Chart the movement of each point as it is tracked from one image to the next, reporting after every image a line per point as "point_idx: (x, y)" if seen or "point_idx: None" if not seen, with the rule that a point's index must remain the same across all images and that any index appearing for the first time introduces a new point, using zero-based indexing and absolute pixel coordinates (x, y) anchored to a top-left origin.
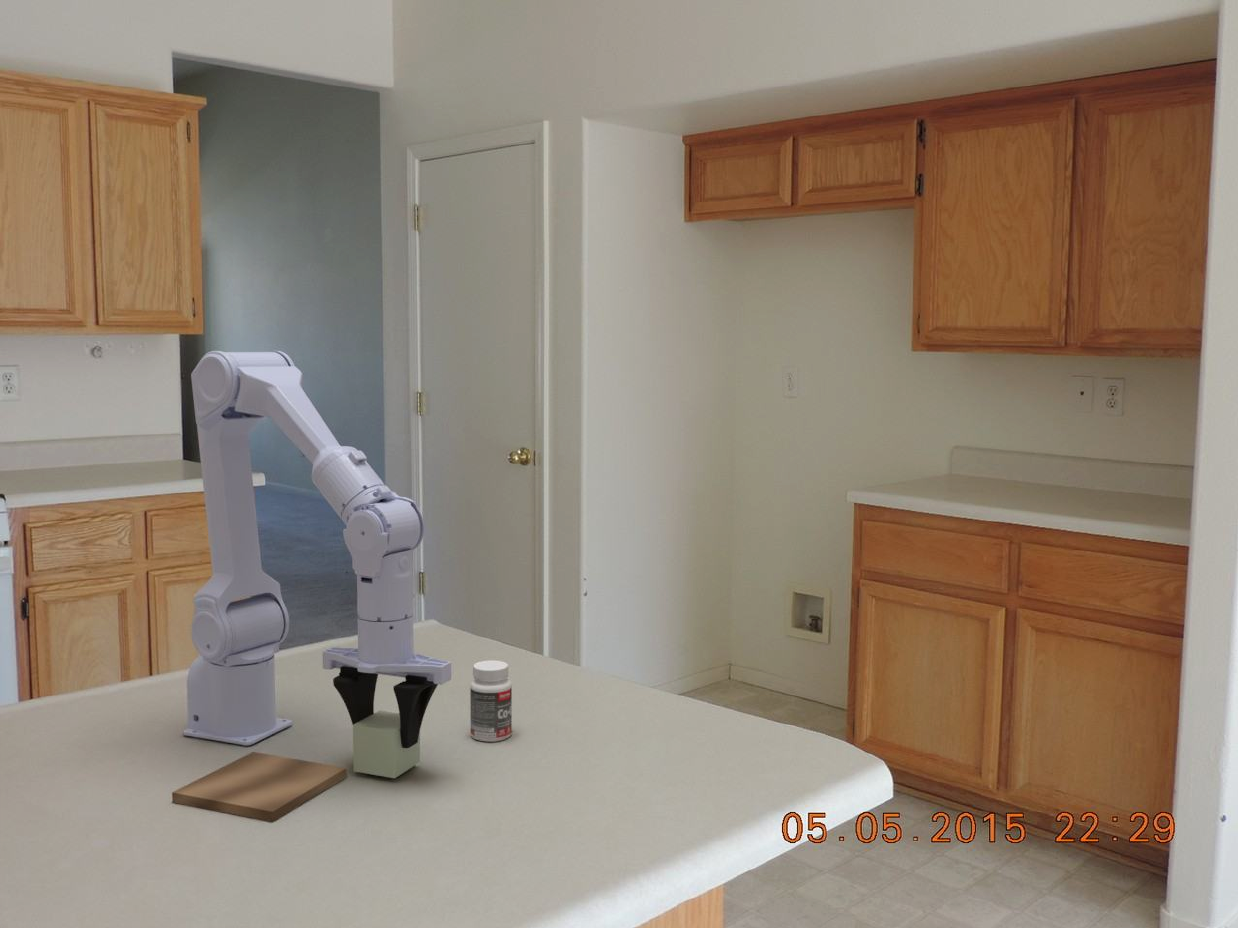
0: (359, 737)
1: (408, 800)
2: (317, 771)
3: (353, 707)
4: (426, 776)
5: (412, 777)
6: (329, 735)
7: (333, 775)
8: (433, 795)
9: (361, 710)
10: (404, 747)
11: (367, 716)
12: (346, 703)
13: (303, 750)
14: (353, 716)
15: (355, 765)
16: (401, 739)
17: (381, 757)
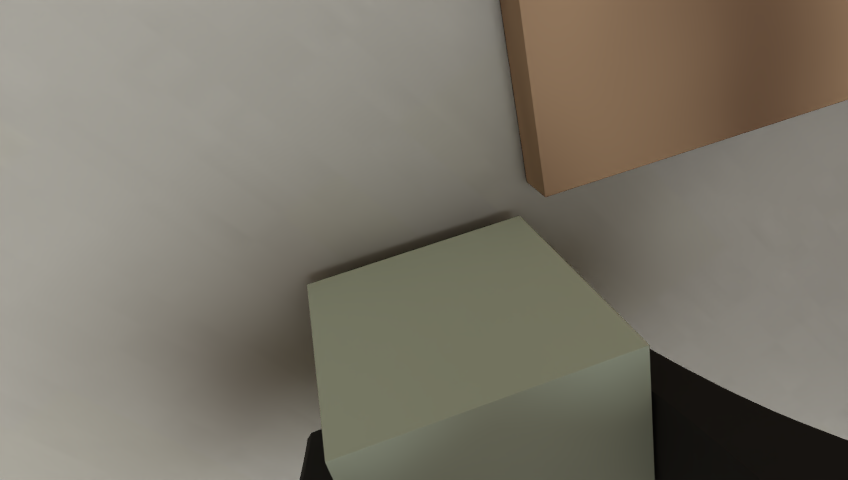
0: (561, 315)
1: (68, 192)
2: (632, 77)
3: (751, 449)
4: (263, 393)
5: (299, 353)
6: (819, 365)
7: (533, 94)
8: (39, 304)
9: (699, 471)
10: None
11: (658, 467)
12: (828, 444)
13: (833, 236)
14: (705, 401)
15: (521, 231)
16: None
17: (392, 310)
